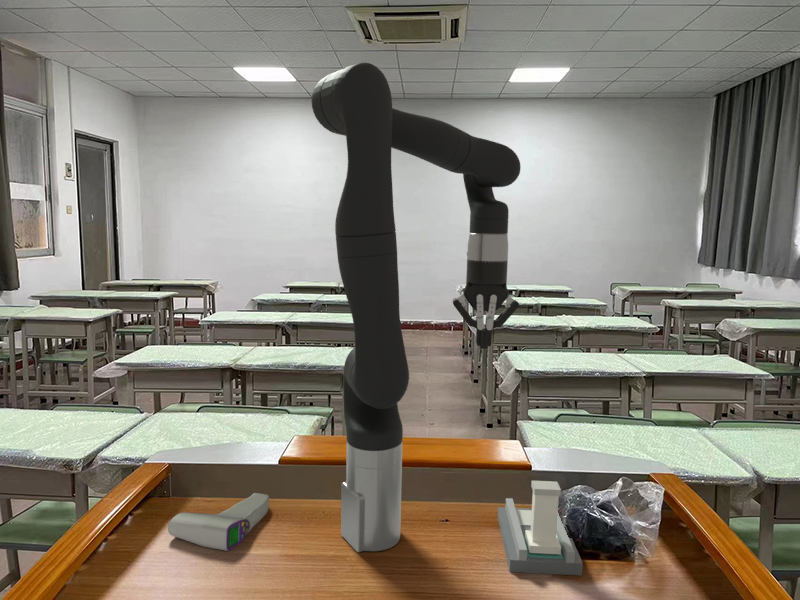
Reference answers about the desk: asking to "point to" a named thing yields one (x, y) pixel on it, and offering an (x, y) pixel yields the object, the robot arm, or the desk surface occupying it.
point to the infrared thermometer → (220, 524)
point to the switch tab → (544, 518)
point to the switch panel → (517, 550)
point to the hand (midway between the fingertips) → (483, 348)
